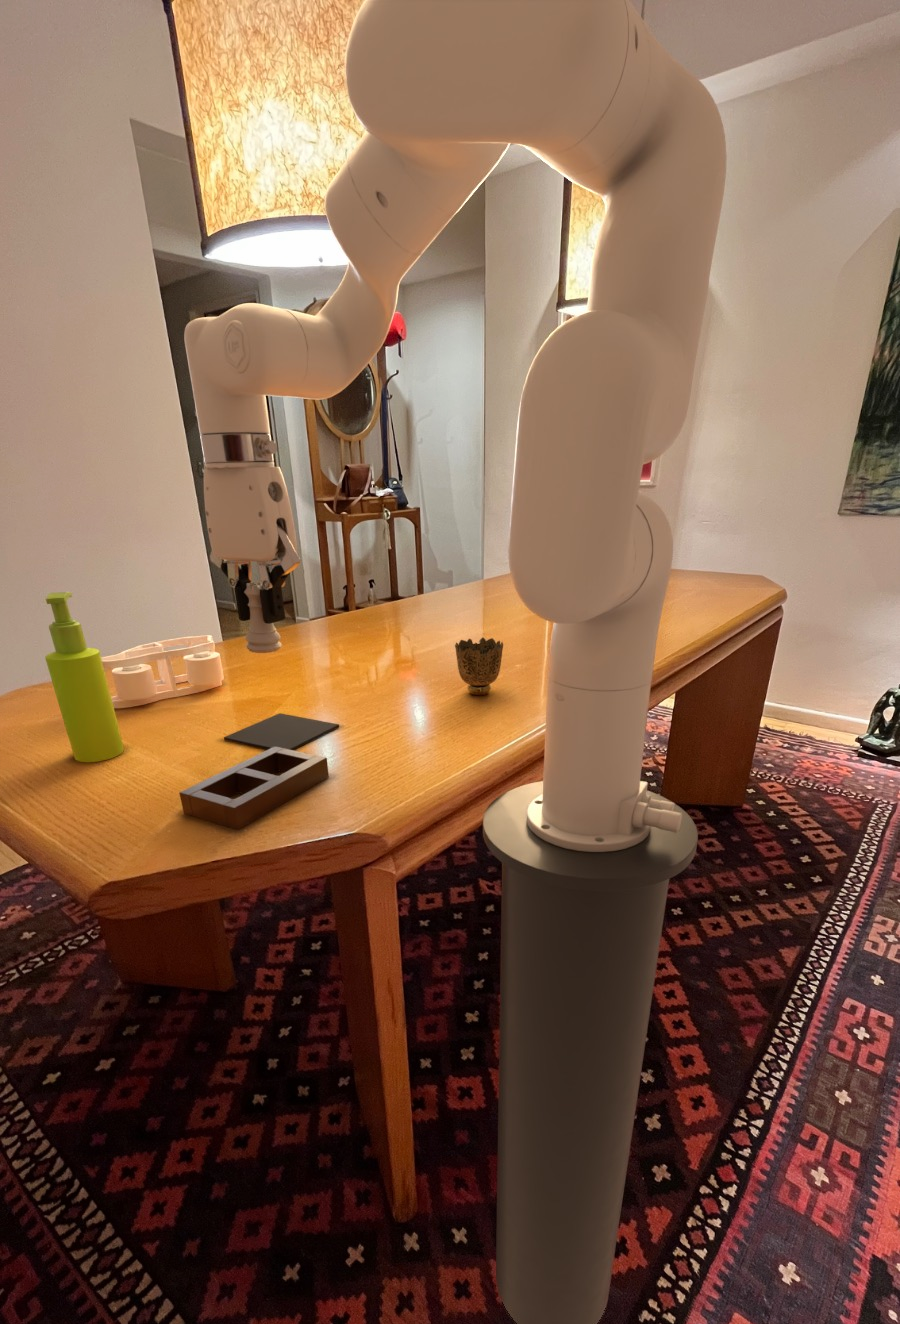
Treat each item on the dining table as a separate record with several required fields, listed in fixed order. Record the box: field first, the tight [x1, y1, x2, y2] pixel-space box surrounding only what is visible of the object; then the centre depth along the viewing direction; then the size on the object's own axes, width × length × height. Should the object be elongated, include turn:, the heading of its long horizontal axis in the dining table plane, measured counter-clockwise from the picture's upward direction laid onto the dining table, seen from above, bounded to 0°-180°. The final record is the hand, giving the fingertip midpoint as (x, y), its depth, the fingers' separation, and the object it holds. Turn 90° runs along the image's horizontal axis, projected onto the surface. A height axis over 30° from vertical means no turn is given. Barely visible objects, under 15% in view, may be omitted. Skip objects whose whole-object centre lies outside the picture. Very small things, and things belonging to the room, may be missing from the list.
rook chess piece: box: [244, 581, 283, 654], centre depth 83 cm, size 4×4×8 cm
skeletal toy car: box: [101, 634, 225, 709], centre depth 109 cm, size 20×11×7 cm, turn 131°
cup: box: [454, 637, 504, 696], centre depth 105 cm, size 8×7×8 cm
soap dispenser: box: [44, 591, 125, 763], centre depth 83 cm, size 6×7×20 cm
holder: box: [179, 747, 330, 831], centre depth 75 cm, size 8×14×2 cm, turn 151°
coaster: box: [223, 713, 340, 751], centre depth 92 cm, size 11×11×1 cm
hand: (262, 618), depth 83 cm, fingers closed on rook chess piece, 3 cm apart
